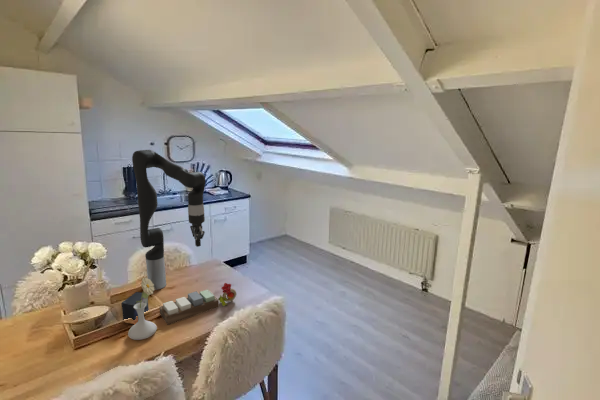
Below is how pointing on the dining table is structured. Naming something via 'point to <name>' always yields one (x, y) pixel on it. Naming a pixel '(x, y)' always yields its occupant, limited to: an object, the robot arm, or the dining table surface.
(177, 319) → the keybed
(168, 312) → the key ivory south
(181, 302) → the key ivory inner
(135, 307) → the flower in vase
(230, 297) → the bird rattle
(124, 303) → the small box
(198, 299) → the key slate
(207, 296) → the key sage
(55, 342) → the dining table surface
